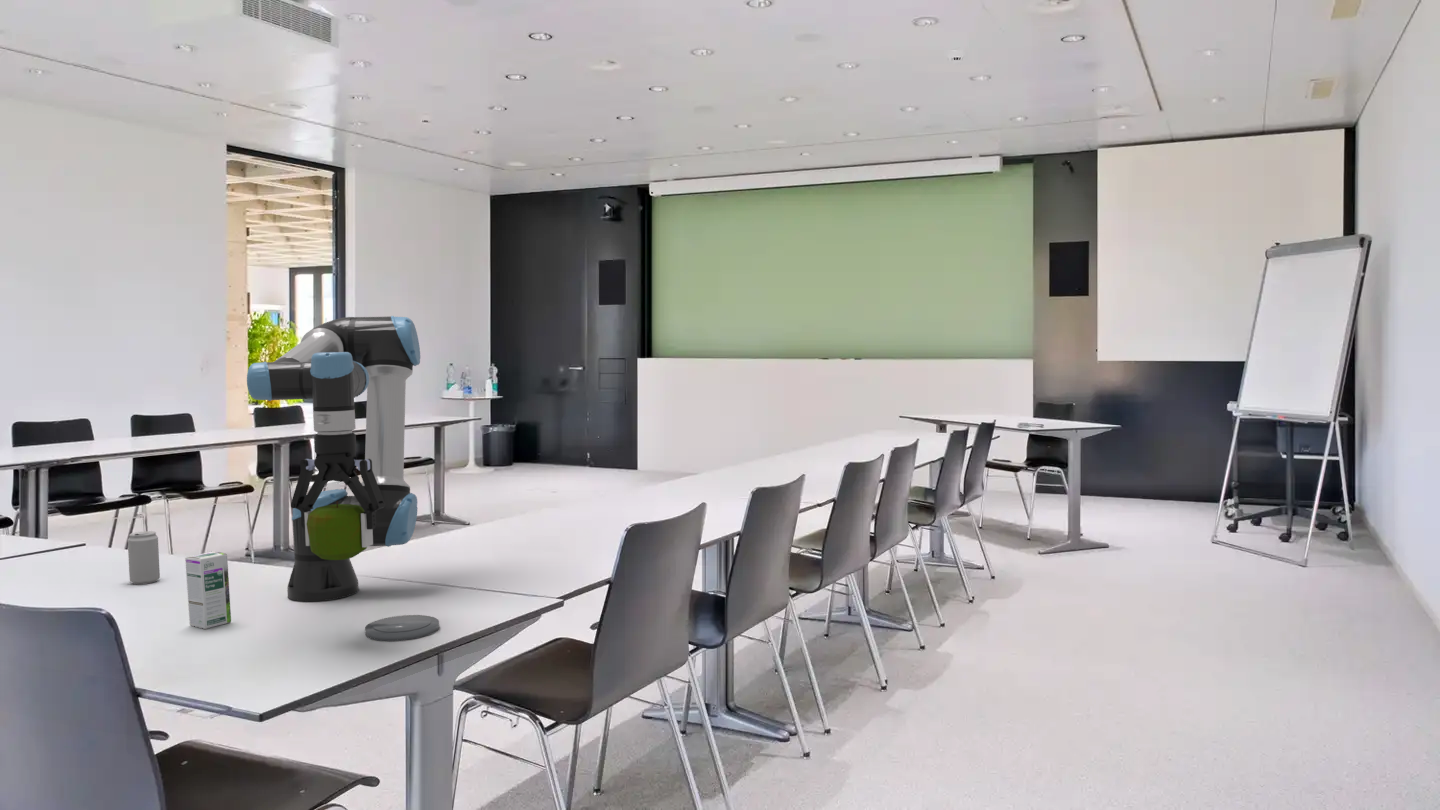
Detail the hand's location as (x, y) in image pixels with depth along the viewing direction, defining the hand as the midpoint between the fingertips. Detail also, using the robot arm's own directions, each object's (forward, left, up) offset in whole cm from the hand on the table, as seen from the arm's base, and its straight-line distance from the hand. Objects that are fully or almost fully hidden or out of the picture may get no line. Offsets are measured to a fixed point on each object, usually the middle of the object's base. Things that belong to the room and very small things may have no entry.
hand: (339, 545), depth 199 cm
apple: (0, 0, -2) cm, 2 cm away
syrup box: (-32, +5, -18) cm, 38 cm away
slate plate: (+10, +5, -18) cm, 21 cm away
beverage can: (-72, +37, -18) cm, 84 cm away
